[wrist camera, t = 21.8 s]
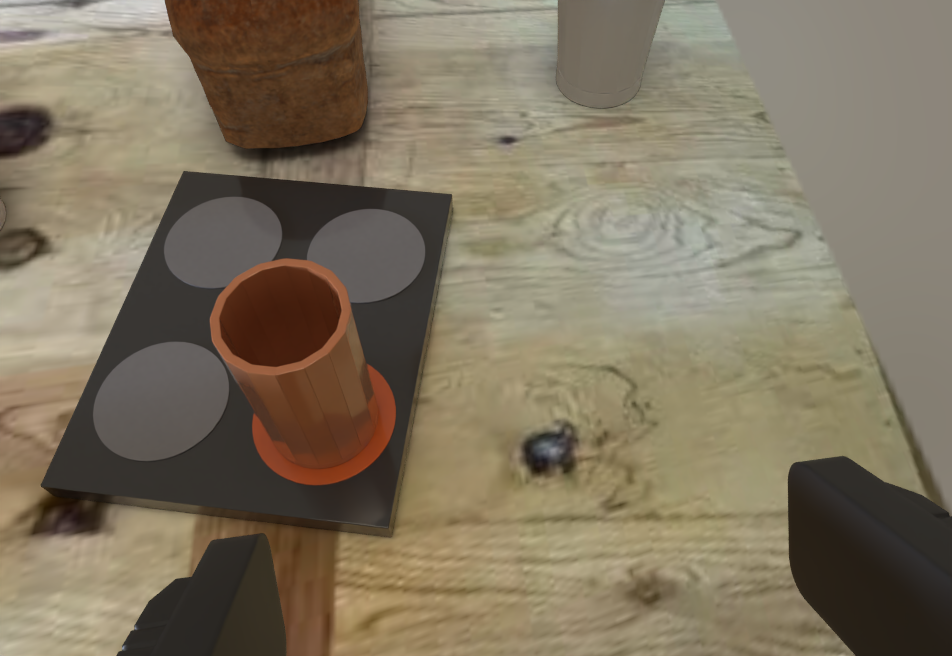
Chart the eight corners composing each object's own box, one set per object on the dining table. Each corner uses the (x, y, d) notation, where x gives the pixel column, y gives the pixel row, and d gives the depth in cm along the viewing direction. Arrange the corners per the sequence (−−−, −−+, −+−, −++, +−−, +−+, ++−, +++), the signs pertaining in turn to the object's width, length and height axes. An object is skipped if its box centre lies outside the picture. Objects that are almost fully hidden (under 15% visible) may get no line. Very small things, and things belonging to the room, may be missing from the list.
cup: (610, 131, 53) (639, -26, 43) (523, 83, 56) (531, -76, 46) (672, 74, 57) (713, -85, 46) (587, 31, 59) (607, -128, 49)
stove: (453, 209, 50) (452, 192, 48) (391, 537, 38) (388, 528, 37) (190, 186, 51) (182, 169, 50) (54, 496, 39) (38, 485, 38)
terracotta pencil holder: (388, 375, 41) (362, 265, 33) (366, 475, 38) (332, 381, 30) (285, 364, 42) (234, 252, 33) (255, 462, 39) (191, 366, 30)
